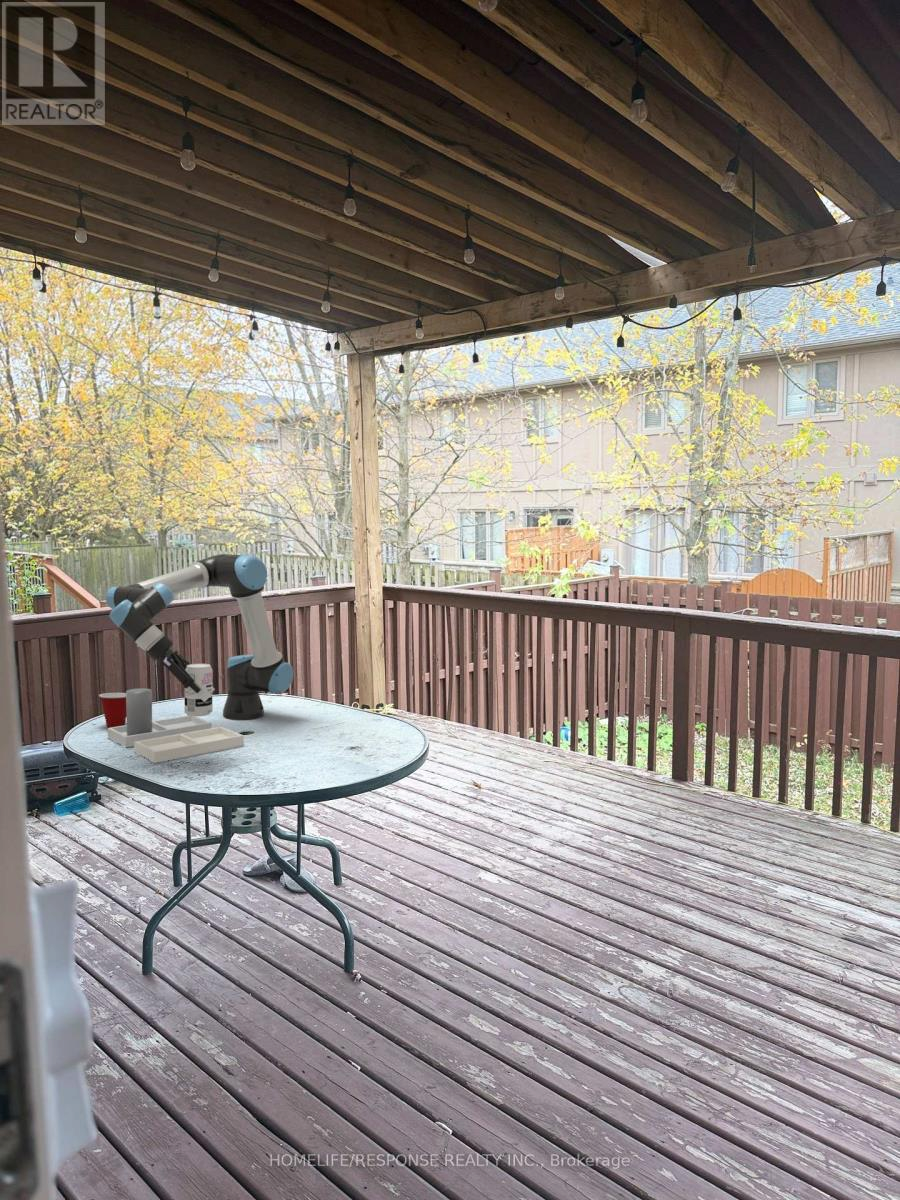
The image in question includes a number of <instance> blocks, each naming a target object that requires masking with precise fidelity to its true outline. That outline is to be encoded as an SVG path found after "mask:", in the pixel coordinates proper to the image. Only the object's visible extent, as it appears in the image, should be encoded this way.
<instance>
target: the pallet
mask: <svg viewBox="0 0 900 1200" xmlns="http://www.w3.org/2000/svg"><path fill="white" fill-rule="evenodd" d="M244 743H245V741H244V734H241V733H239V732H236V731H233V730H231V729H228V728H226V727H224V726H217V727H212V728H211V729H205V730H199V731H193V732H188V733H182V734H176V735H170V736H165V737H159V738H153V739H147V740H142V741H136V742H134V746H133V748H134V752H136V753H138V754H140V755H142V756H143V757H142V756H141V757H142V758H144V757H145V758H144V759H146V758H147V759H149V760H151V761H152V762H151V761H150V762H151V763H153V762H154V763H153V764H158V763H157V762H159V763H163V761H164V762H169V761H172V760H173V759H174V760H178V759H183V758H188V757H189V758H191V757H193V756H194V757H195V756H199V755H204V754H209V753H214V752H218V751H219V752H220V751H225V750H230V749H235V747H236V748H239V747H244V746H245V745H244ZM136 753H135V754H136ZM138 754H137V755H138ZM140 755H139V756H140ZM147 759H146V760H147ZM149 760H148V761H149ZM168 760H169V761H168Z"/></svg>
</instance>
